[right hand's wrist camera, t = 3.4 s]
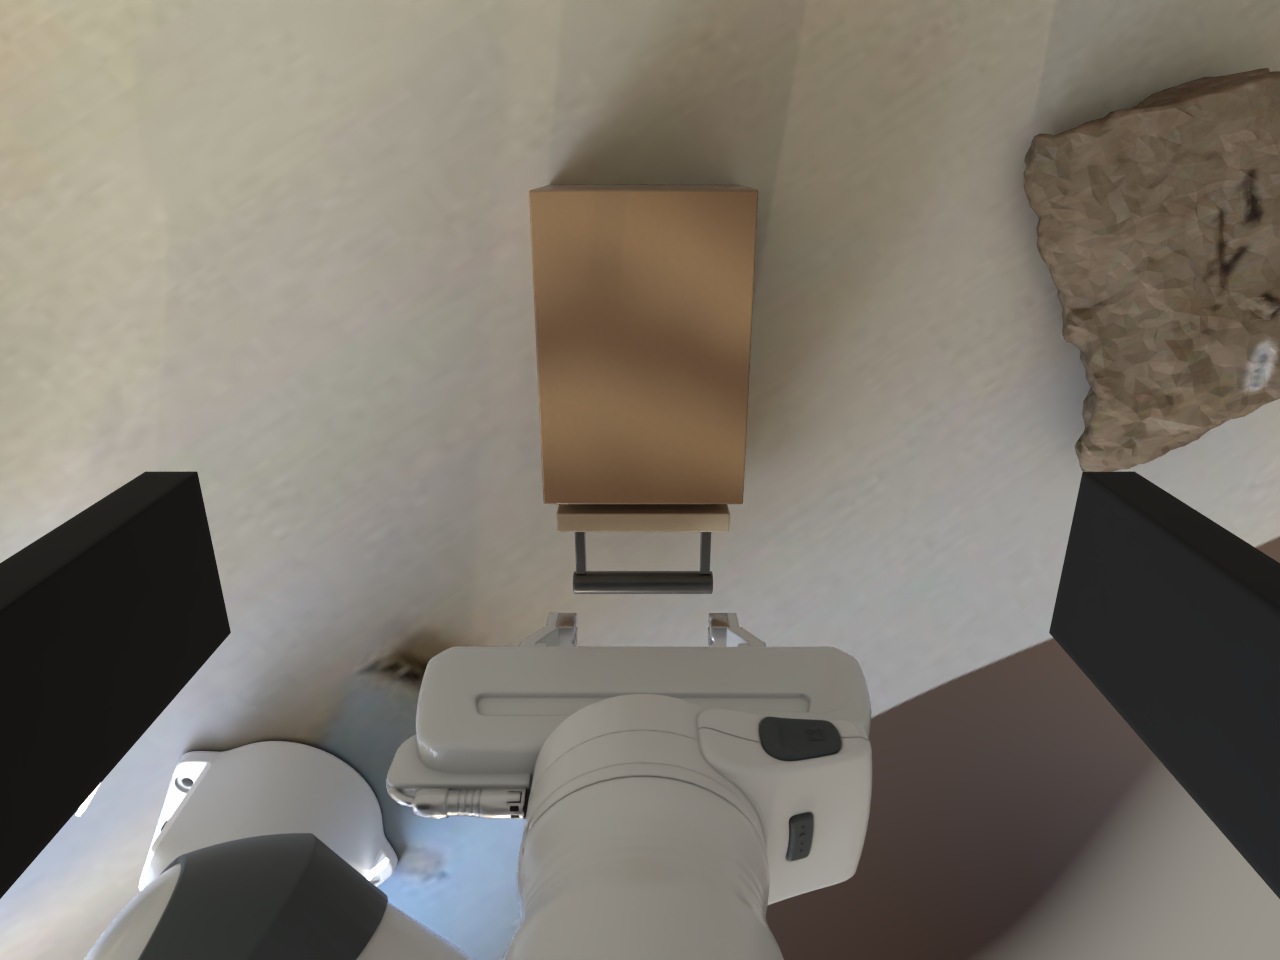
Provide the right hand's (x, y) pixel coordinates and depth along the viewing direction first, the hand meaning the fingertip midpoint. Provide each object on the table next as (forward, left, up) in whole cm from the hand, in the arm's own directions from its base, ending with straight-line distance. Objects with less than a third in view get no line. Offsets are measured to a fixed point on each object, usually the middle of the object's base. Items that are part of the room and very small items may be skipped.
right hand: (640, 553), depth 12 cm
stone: (-28, +12, -40) cm, 51 cm away
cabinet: (+1, +4, -40) cm, 40 cm away
